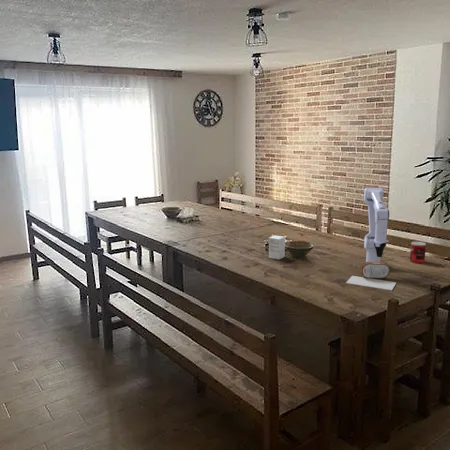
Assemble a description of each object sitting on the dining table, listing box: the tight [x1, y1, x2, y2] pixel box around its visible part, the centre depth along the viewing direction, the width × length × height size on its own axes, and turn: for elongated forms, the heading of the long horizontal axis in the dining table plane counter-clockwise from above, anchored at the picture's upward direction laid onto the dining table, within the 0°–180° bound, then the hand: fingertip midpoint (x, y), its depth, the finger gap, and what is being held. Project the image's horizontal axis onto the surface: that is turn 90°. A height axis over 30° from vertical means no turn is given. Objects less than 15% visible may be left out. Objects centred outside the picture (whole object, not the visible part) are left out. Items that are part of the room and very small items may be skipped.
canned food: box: [409, 241, 427, 264], centre depth 259 cm, size 8×8×11 cm
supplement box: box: [268, 235, 286, 260], centre depth 270 cm, size 7×7×13 cm
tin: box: [359, 261, 391, 280], centre depth 232 cm, size 15×3×8 cm, turn 92°
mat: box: [345, 275, 397, 292], centre depth 225 cm, size 12×22×1 cm, turn 60°
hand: (379, 256), depth 238 cm, fingers closed
